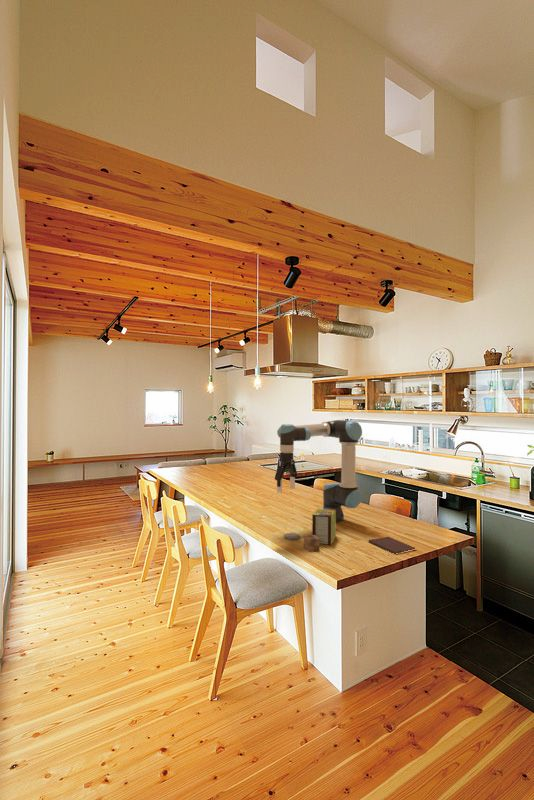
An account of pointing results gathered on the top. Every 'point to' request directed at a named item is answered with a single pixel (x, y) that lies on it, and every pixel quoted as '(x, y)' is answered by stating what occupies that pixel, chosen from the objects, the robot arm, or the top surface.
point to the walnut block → (311, 542)
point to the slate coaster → (291, 536)
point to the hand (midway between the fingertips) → (286, 490)
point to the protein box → (324, 525)
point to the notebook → (391, 545)
